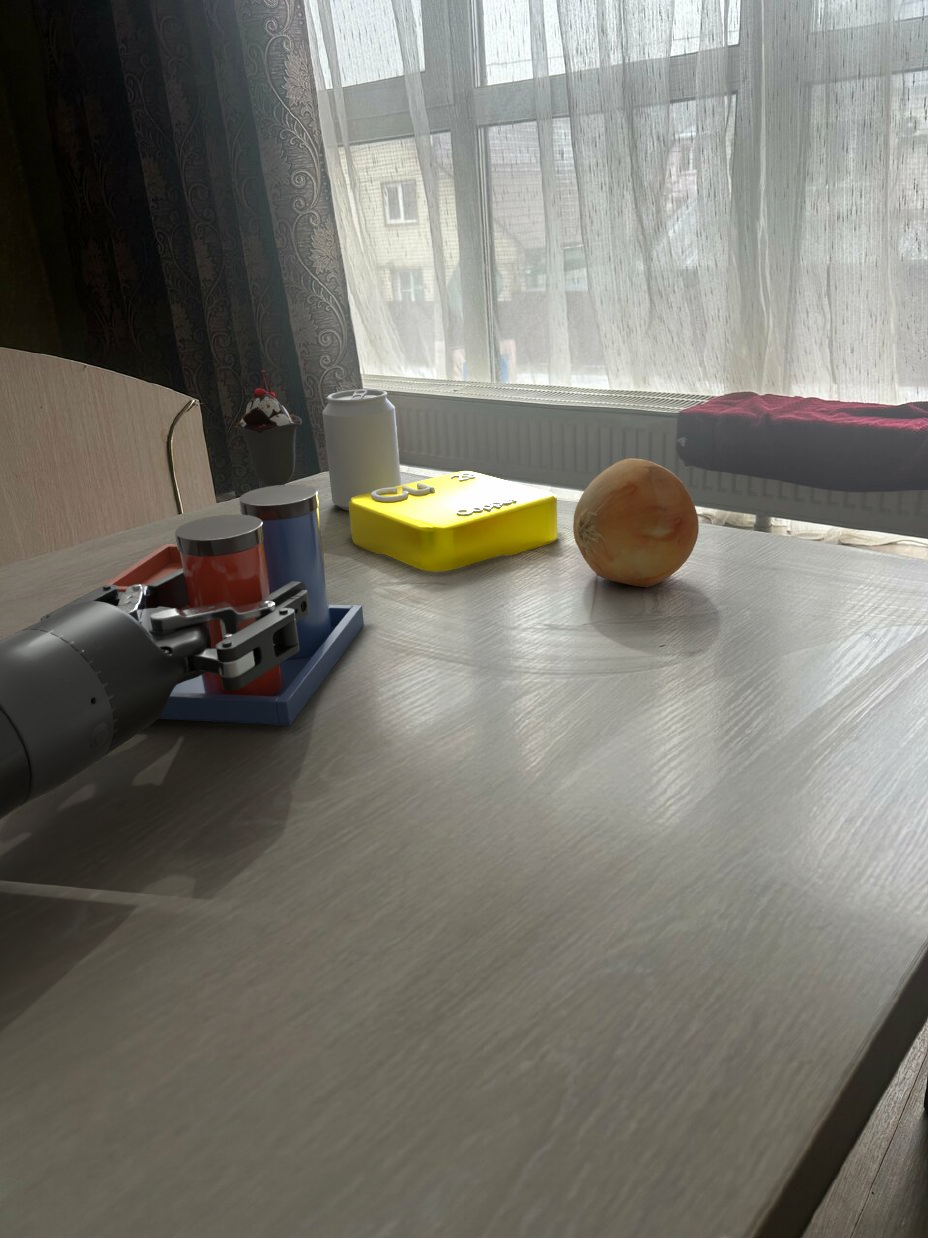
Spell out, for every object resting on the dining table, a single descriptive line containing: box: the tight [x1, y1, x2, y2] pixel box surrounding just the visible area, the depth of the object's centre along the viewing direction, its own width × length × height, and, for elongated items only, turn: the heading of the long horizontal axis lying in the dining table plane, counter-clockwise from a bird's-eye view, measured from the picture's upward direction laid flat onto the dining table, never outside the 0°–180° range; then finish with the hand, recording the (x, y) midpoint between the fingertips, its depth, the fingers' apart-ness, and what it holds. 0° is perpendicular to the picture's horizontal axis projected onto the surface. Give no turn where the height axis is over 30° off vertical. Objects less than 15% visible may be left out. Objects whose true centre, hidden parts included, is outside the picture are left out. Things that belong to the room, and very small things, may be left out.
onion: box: [572, 457, 700, 588], centre depth 76 cm, size 10×10×10 cm
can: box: [321, 388, 402, 512], centre depth 102 cm, size 8×8×12 cm
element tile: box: [348, 470, 559, 573], centre depth 90 cm, size 15×15×5 cm
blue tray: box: [158, 604, 365, 726], centre depth 66 cm, size 11×15×2 cm
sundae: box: [234, 369, 303, 487], centre depth 98 cm, size 7×7×15 cm
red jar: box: [174, 514, 283, 697], centre depth 60 cm, size 5×5×11 cm
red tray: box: [100, 543, 190, 610], centre depth 82 cm, size 12×11×2 cm
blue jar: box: [238, 484, 332, 659], centre depth 67 cm, size 5×5×11 cm
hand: (245, 588), depth 62 cm, fingers open, 8 cm apart
